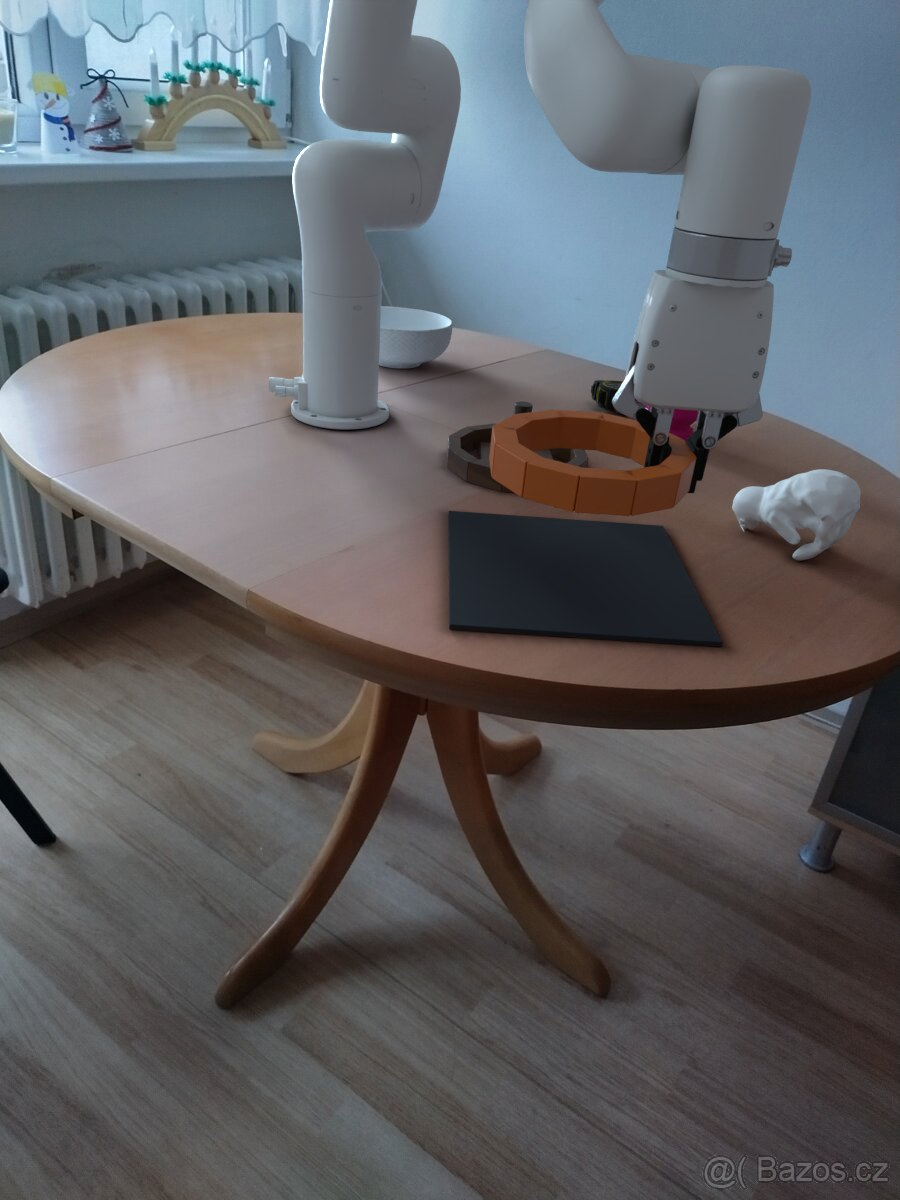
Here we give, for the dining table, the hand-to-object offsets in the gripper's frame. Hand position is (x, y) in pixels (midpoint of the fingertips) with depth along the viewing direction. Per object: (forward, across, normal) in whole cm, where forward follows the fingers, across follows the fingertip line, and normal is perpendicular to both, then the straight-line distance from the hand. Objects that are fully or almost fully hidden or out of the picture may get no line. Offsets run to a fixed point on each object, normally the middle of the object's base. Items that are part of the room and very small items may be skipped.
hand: (670, 484), depth 74 cm
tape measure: (+9, -6, -52) cm, 53 cm away
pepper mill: (+9, -11, -40) cm, 43 cm away
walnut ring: (+9, +10, -26) cm, 30 cm away
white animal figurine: (+10, -16, -10) cm, 21 cm away
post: (+9, +10, -26) cm, 30 cm away
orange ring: (0, +7, 0) cm, 7 cm away
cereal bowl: (+9, +26, -68) cm, 74 cm away
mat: (+9, +7, 0) cm, 12 cm away
